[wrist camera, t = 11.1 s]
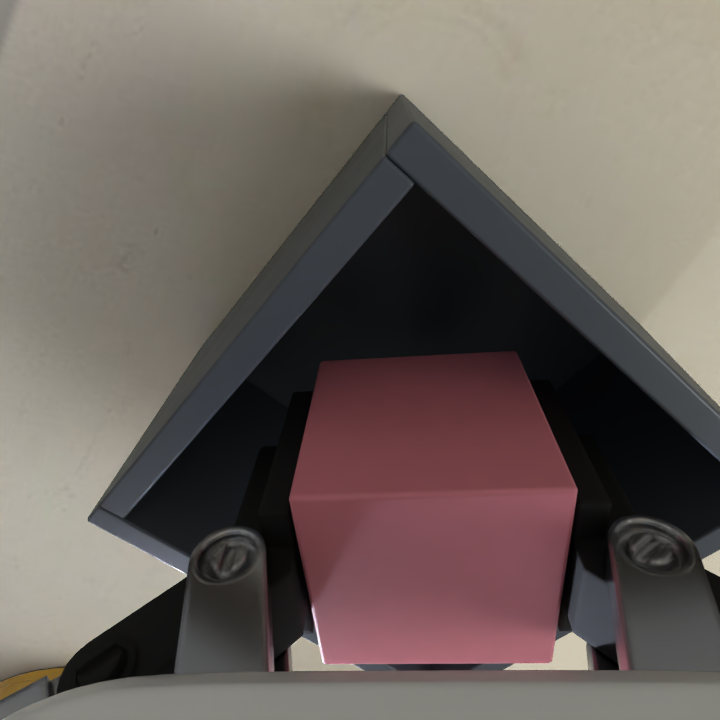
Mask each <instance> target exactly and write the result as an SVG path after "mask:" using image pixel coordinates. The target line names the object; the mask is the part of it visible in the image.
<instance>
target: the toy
mask: <svg viewBox="0 0 720 720" xmlns="http://www.w3.org/2000/svg"><path fill="white" fill-rule="evenodd" d="M577 492H578V489H577V487H576V485H575V482H574V480H573V478H572V476H571V473H570V471H569V469H568V467H567V464H566V462H565V460H564V458H563V455H562V453H561V451H560V449H559V446H558V444H557V442H556V440H555V437H554V435H553V433H552V431H551V428H550V426H549V424H548V422H547V419H546V417H545V415H544V413H543V410H542V408H541V406H540V404H539V401H538V399H537V397H536V395H535V392H534V390H533V388H532V386H531V383H530V381H529V379H528V377H527V374H526V372H525V370H524V368H523V365H522V363H521V361H520V359H519V356H518V354H517V352H515V351H501V352H482V353H464V354H445V355H426V356H407V357H389V358H370V359H351V360H332V361H322V362H321V363H320V366H319V370H318V374H317V379H316V383H315V387H314V392H313V396H312V400H311V405H310V409H309V413H308V418H307V422H306V426H305V431H304V435H303V440H302V444H301V448H300V453H299V457H298V461H297V466H296V470H295V474H294V479H293V483H292V487H291V492H290V496H289V502H290V507H291V512H292V517H293V522H294V526H295V531H296V536H297V541H298V546H299V551H300V556H301V560H302V565H303V570H304V575H305V580H306V585H307V590H308V594H309V599H310V604H311V609H312V614H313V619H314V624H315V628H316V633H317V638H318V643H319V648H320V653H321V658H322V661H323V663H325V664H466V663H550V662H551V661H552V657H553V651H554V644H555V637H556V631H557V624H558V617H559V611H560V604H561V598H562V591H563V584H564V578H565V571H566V564H567V558H568V551H569V545H570V538H571V531H572V525H573V518H574V512H575V505H576V498H577Z"/></svg>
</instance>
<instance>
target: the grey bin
mask: <svg viewBox="0 0 720 720" xmlns="http://www.w3.org/2000/svg"><path fill="white" fill-rule="evenodd" d="M501 351H515V352H517V354H518V356H519V359H520V361H521V363H522V365H523V368H524V370H525V372H526V374H527V377H528V379H529V380H549V381H550V382H551V384H552V386H553V388H554V390H555V392H556V394H557V396H558V398H559V400H560V402H561V404H562V406H563V408H564V410H565V412H566V414H567V416H568V418H569V420H570V422H571V424H572V426H573V427H574V429H575V431H576V433H577V434H584V433H589V434H591V435H592V436H593V437H594V439H595V440H596V442H597V444H598V446H599V447H600V449H601V451H602V453H603V455H604V456H605V458H606V460H607V462H608V464H609V466H610V467H611V469H612V471H613V473H614V475H615V477H616V478H617V480H618V482H619V484H620V486H621V487H622V489H623V491H624V493H625V495H626V497H627V498H628V500H629V502H630V504H631V506H632V507H633V509H634V511H635V513H636V515H647V516H651V517H656V518H659V519H662V520H664V521H666V522H669V523H671V524H673V525H674V526H676V527H677V528H679V529H680V530H682V531H683V532H684V533H685V534H686V535H687V536H688V537H689V538H690V539H691V540H692V541H693V542H694V544H695V546H696V548H697V550H698V551H699V554H700V557H701V560H702V559H703V558H705V557H707V556H709V555H711V554H713V553H714V552H716V551H718V550H720V407H719V406H718V404H717V403H716V402H715V401H714V400H713V399H712V398H711V397H710V396H709V395H708V394H707V393H706V392H705V391H704V390H703V389H702V388H701V387H700V386H699V385H698V384H697V383H696V382H695V381H694V380H693V379H692V378H691V377H690V376H689V375H688V374H687V372H686V371H685V370H684V369H683V368H682V367H681V366H680V365H679V364H678V363H677V362H676V361H675V360H674V359H673V358H672V357H671V356H670V355H669V354H668V353H667V352H666V351H665V350H664V349H663V348H662V347H661V346H660V345H659V344H658V343H657V342H656V340H655V339H654V338H653V337H652V336H651V335H650V334H649V333H648V332H647V331H646V330H645V329H644V328H643V327H642V326H641V325H640V324H639V323H638V322H637V321H636V320H635V319H634V318H633V317H632V316H631V315H630V314H629V313H628V312H627V311H626V310H624V309H623V308H622V307H621V306H620V305H619V304H618V303H617V302H616V301H615V300H614V299H613V298H612V297H611V296H610V295H609V294H608V293H607V292H606V291H605V290H604V289H603V288H602V287H601V286H600V285H599V284H598V283H597V282H596V281H595V280H594V279H593V278H592V277H591V276H590V275H588V274H587V273H586V272H585V271H584V270H583V269H582V268H581V267H580V266H579V265H578V264H577V263H576V262H575V261H574V260H573V259H572V258H571V257H570V256H569V255H568V254H567V253H566V252H565V251H564V250H563V249H562V248H561V247H560V246H559V245H558V244H557V243H556V242H555V241H553V240H552V239H551V238H550V237H549V236H548V235H547V234H546V233H545V232H544V231H543V230H542V229H541V228H540V227H539V226H538V225H537V224H536V223H535V222H534V221H533V220H532V219H531V218H530V217H529V216H528V215H527V214H526V213H525V212H524V211H523V210H522V209H521V208H520V207H519V206H517V205H516V204H515V203H514V202H513V201H512V200H511V199H510V198H509V197H508V196H507V195H506V194H505V193H504V192H503V191H502V190H501V189H500V188H499V187H498V186H497V185H496V184H495V183H494V182H493V181H492V180H491V179H490V178H489V177H488V176H487V175H486V174H485V173H484V172H483V171H481V170H480V169H479V168H478V167H477V166H476V165H475V164H474V163H473V162H472V161H471V160H470V159H469V158H468V157H467V156H466V155H465V154H464V153H463V152H462V151H461V150H460V149H459V148H458V147H457V146H456V145H455V144H454V143H453V142H452V141H451V140H450V139H449V138H448V137H446V136H445V135H444V134H443V133H442V132H441V131H440V130H439V129H438V128H437V127H436V126H435V125H434V124H433V123H432V122H431V121H430V120H429V119H428V118H427V117H426V116H425V115H424V114H423V113H422V112H421V111H420V110H419V109H418V108H417V107H416V106H415V105H414V104H413V103H412V102H410V101H409V100H408V99H407V98H406V97H405V96H404V95H402V94H401V95H400V96H399V97H398V98H397V99H396V101H395V102H394V103H393V104H392V106H391V107H390V108H389V110H388V111H387V112H386V113H385V115H384V116H383V117H382V118H381V120H380V121H379V122H378V124H377V125H376V126H375V127H374V129H373V130H372V131H371V132H370V134H369V135H368V136H367V138H366V139H365V140H364V141H363V143H362V144H361V145H360V146H359V148H358V149H357V150H356V152H355V153H354V154H353V155H352V157H351V158H350V159H349V160H348V162H347V163H346V164H345V166H344V167H343V168H342V169H341V171H340V172H339V173H338V174H337V176H336V177H335V178H334V180H333V181H332V182H331V183H330V185H329V186H328V187H327V188H326V190H325V191H324V192H323V194H322V195H321V196H320V197H319V199H318V200H317V201H316V202H315V204H314V205H313V206H312V208H311V209H310V210H309V211H308V213H307V214H306V215H305V216H304V218H303V219H302V220H301V222H300V223H299V224H298V225H297V227H296V228H295V229H294V230H293V232H292V233H291V234H290V235H289V237H288V238H287V239H286V241H285V242H284V243H283V244H282V246H281V247H280V248H279V249H278V251H277V252H276V253H275V255H274V256H273V257H272V258H271V260H270V261H269V262H268V263H267V265H266V266H265V267H264V269H263V270H262V271H261V272H260V274H259V275H258V276H257V277H256V279H255V280H254V281H253V283H252V284H251V285H250V286H249V288H248V289H247V290H246V291H245V293H244V294H243V295H242V297H241V298H240V299H239V300H238V302H237V303H236V304H235V305H234V307H233V308H232V309H231V311H230V312H229V313H228V314H227V316H226V317H225V318H224V319H223V321H222V322H221V323H220V325H219V326H218V327H217V328H216V330H215V331H214V332H213V333H212V335H211V336H210V337H209V339H208V340H207V341H206V342H205V344H204V345H203V346H202V347H201V349H200V350H199V351H198V353H197V354H196V356H195V357H194V359H193V360H192V362H191V363H190V365H189V366H188V368H187V369H186V371H185V372H184V374H183V375H182V377H181V378H180V380H179V381H178V383H177V384H176V386H175V387H174V389H173V390H172V392H171V393H170V395H169V396H168V398H167V399H166V401H165V402H164V404H163V405H162V407H161V408H160V410H159V411H158V413H157V414H156V416H155V418H154V419H153V421H152V422H151V424H150V425H149V427H148V428H147V430H146V431H145V433H144V434H143V436H142V437H141V439H140V440H139V442H138V443H137V445H136V446H135V448H134V449H133V451H132V452H131V454H130V455H129V457H128V458H127V460H126V461H125V463H124V464H123V466H122V467H121V469H120V470H119V472H118V473H117V475H116V476H115V478H114V479H113V481H112V482H111V484H110V485H109V487H108V488H107V490H106V491H105V493H104V494H103V496H102V497H101V499H100V500H99V502H98V503H97V505H96V506H95V508H94V509H93V511H92V512H91V514H90V515H89V517H88V521H89V522H90V523H92V524H94V525H96V526H98V527H99V528H101V529H103V530H105V531H107V532H109V533H111V534H112V535H114V536H116V537H118V538H120V539H122V540H124V541H125V542H127V543H129V544H131V545H133V546H135V547H137V548H138V549H140V550H142V551H144V552H146V553H148V554H149V555H151V556H153V557H155V558H157V559H159V560H161V561H162V562H164V563H166V564H168V565H170V566H172V567H174V568H175V569H177V570H179V571H181V572H183V573H185V574H187V572H188V565H189V560H190V557H191V554H192V552H193V550H194V549H195V548H196V546H197V545H198V543H200V542H201V541H202V540H203V539H204V538H205V537H206V536H208V535H209V534H211V533H213V532H215V531H217V530H219V529H222V528H226V527H229V526H234V525H235V522H236V519H237V516H238V513H239V510H240V507H241V504H242V501H243V498H244V495H245V492H246V489H247V486H248V483H249V480H250V477H251V474H252V471H253V468H254V465H255V462H256V459H257V456H258V453H259V451H260V449H261V447H263V446H278V442H279V439H280V435H281V432H282V428H283V425H284V422H285V418H286V415H287V411H288V408H289V404H290V401H291V397H292V394H293V392H302V391H314V387H315V383H316V379H317V374H318V370H319V366H320V363H321V362H322V361H332V360H351V359H370V358H389V357H407V356H426V355H445V354H464V353H482V352H501ZM570 632H572V631H559V628H558V625H557V631H556V637H555V641H556V640H557V639H559V638H561V637H563V636H565V635H567V634H568V633H570ZM302 637H303V638H305V639H307V640H309V641H311V642H313V643H315V644H316V645H318V646H319V643H318V638H317V633H316V628H315V624H314V629H313V634H303V635H302ZM512 664H514V663H466V664H353V665H355V666H357V667H359V668H361V669H363V670H365V671H436V670H503V669H505V668H507V667H509V666H511V665H512Z"/></svg>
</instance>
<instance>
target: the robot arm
mask: <svg viewBox="0 0 720 720" xmlns="http://www.w3.org/2000/svg"><path fill="white" fill-rule="evenodd" d="M529 381H530V383H531V386H532V388H533V390H534V392H535V395H536V397H537V399H538V401H539V404H540V406H541V408H542V410H543V413H544V415H545V417H546V419H547V422H548V424H549V426H550V428H551V431H552V433H553V435H554V437H555V440H556V442H557V444H558V446H559V449H560V451H561V453H562V455H563V458H564V460H565V462H566V464H567V467H568V469H569V471H570V473H571V476H572V478H573V480H574V482H575V485H576V487H577V489H578V492H577V498H576V505H575V512H574V518H573V525H572V531H571V538H570V545H569V551H568V558H567V564H566V571H565V578H564V584H563V591H562V598H561V604H560V611H559V617H558V624H557V625H558V628H559V631H573V633H575V634H576V635H578V636H579V637H580V638H582V639H583V640H585V641H586V642H587V645H586V650H587V660H588V670H436V671H292V656H291V647H290V646H291V645H292V644H293V643H294V642H295V641H297V640H298V639H299V638H300V637H301V636H302V635H303V634H313V629H314V619H313V614H312V609H311V604H310V599H309V594H308V590H307V585H306V580H305V575H304V570H303V565H302V560H301V556H300V551H299V546H298V541H297V536H296V531H295V526H294V522H293V517H292V512H291V507H290V502H289V496H290V492H291V487H292V483H293V479H294V474H295V470H296V466H297V461H298V457H299V453H300V448H301V444H302V440H303V435H304V431H305V426H306V422H307V418H308V413H309V409H310V405H311V400H312V396H313V392H314V391H302V392H293V394H292V397H291V401H290V404H289V408H288V411H287V415H286V418H285V422H284V425H283V428H282V432H281V435H280V439H279V442H278V446H263V447H261V449H260V451H259V453H258V456H257V459H256V462H255V465H254V468H253V471H252V474H251V477H250V480H249V483H248V486H247V489H246V492H245V495H244V498H243V501H242V504H241V507H240V510H239V513H238V516H237V519H236V522H235V525H234V526H229V527H226V528H222V529H219V530H217V531H215V532H213V533H211V534H209V535H208V536H206V537H205V538H204V539H203V540H202V541H201V542H200V543H198V545H197V546H196V548H195V549H194V550H193V552H192V554H191V557H190V560H189V565H188V572H187V577H186V578H185V579H183V580H182V581H180V582H179V583H177V584H176V585H174V586H173V587H171V588H170V589H168V590H167V591H165V592H164V593H162V594H161V595H159V596H158V597H156V598H155V599H153V600H152V601H150V602H149V603H147V604H146V605H144V606H143V607H141V608H140V609H138V610H137V611H135V612H134V613H132V614H131V615H129V616H128V617H126V618H125V619H123V620H122V621H120V622H119V623H117V624H116V625H114V626H113V627H111V628H110V629H108V630H107V631H105V632H104V633H102V634H101V635H99V636H98V637H96V638H95V639H93V640H92V641H90V642H89V643H87V644H86V645H85V646H84V647H83V648H81V649H80V650H79V651H78V652H77V653H76V654H75V655H74V656H73V657H72V659H71V660H70V661H69V662H68V663H67V665H66V667H65V668H64V670H63V672H62V674H61V675H60V676H58V677H57V678H55V679H53V680H51V681H50V680H49V678H48V677H47V675H46V676H44V677H43V678H41V679H39V680H37V681H35V682H33V683H31V684H29V685H28V686H26V687H24V688H22V689H20V690H18V691H16V692H15V693H13V694H11V695H9V696H7V697H5V698H3V699H1V700H0V720H720V577H719V576H717V575H715V574H713V573H711V572H709V571H707V570H705V569H704V566H703V563H702V560H701V557H700V554H699V551H698V550H697V548H696V546H695V544H694V542H693V541H692V540H691V539H690V538H689V537H688V536H687V535H686V534H685V533H684V532H683V531H682V530H680V529H679V528H677V527H676V526H674V525H673V524H671V523H669V522H666V521H664V520H662V519H659V518H656V517H651V516H647V515H636V513H635V511H634V509H633V507H632V506H631V504H630V502H629V500H628V498H627V497H626V495H625V493H624V491H623V489H622V487H621V486H620V484H619V482H618V480H617V478H616V477H615V475H614V473H613V471H612V469H611V467H610V466H609V464H608V462H607V460H606V458H605V456H604V455H603V453H602V451H601V449H600V447H599V446H598V444H597V442H596V440H595V439H594V437H593V436H592V435H591V434H589V433H584V434H577V433H576V431H575V429H574V427H573V426H572V424H571V422H570V420H569V418H568V416H567V414H566V412H565V410H564V408H563V406H562V404H561V402H560V400H559V398H558V396H557V394H556V392H555V390H554V388H553V386H552V384H551V382H550V381H549V380H529Z"/></svg>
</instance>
